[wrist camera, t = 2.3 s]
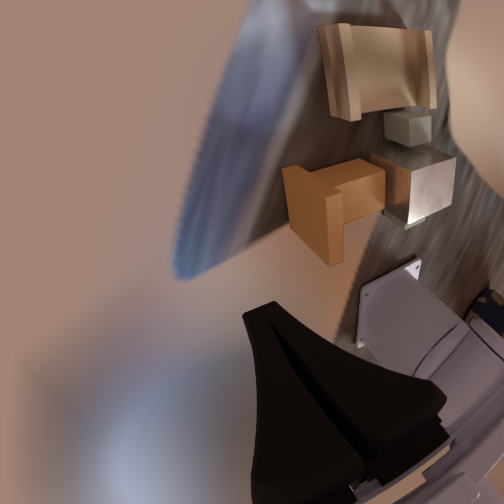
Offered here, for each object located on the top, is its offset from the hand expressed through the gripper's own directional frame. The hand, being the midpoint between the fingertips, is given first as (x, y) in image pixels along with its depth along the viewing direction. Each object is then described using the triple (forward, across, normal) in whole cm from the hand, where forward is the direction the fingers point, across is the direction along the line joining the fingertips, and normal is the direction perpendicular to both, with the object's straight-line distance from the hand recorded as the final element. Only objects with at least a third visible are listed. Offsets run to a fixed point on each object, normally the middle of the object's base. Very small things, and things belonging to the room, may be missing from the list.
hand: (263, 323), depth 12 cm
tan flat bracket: (+9, -14, -8) cm, 18 cm away
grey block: (+9, -14, 0) cm, 17 cm away
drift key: (+9, -9, 0) cm, 13 cm away
